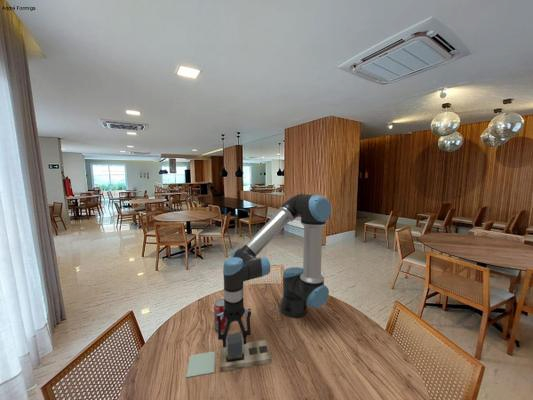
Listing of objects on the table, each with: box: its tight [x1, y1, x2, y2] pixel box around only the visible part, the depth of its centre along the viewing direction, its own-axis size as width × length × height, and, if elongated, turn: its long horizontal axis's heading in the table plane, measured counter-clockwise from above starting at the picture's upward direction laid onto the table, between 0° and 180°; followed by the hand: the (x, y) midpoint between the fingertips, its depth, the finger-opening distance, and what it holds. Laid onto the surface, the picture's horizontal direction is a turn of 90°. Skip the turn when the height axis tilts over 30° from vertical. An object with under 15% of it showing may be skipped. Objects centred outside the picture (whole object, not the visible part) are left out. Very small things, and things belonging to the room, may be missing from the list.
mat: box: [185, 351, 216, 379], centre depth 85 cm, size 10×10×1 cm
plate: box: [219, 339, 272, 373], centre depth 88 cm, size 20×10×2 cm, turn 102°
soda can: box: [213, 298, 227, 332], centre depth 106 cm, size 7×7×13 cm
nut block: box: [227, 331, 243, 363], centre depth 87 cm, size 6×6×9 cm
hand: (234, 352), depth 87 cm, fingers closed on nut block, 5 cm apart
